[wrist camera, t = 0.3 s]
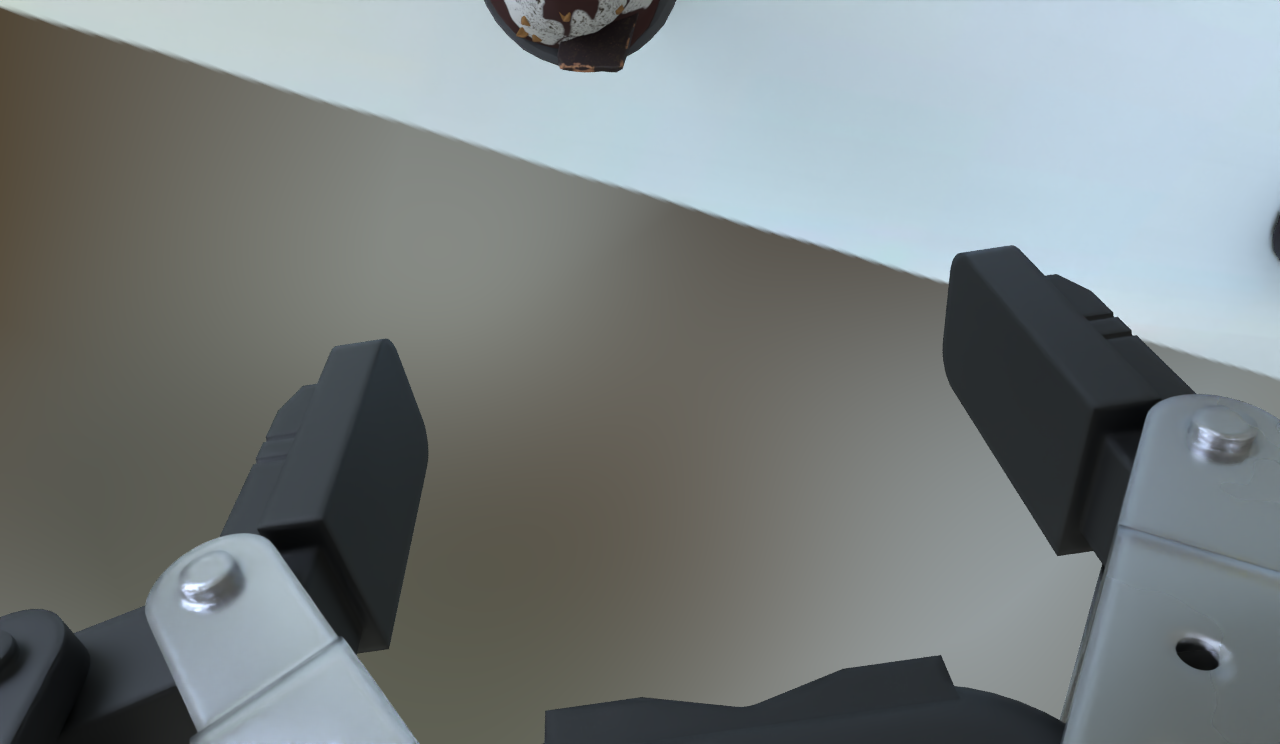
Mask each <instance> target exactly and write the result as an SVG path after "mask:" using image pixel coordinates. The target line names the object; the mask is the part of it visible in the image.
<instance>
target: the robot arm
mask: <svg viewBox="0 0 1280 744" xmlns="http://www.w3.org/2000/svg"><path fill="white" fill-rule="evenodd" d="M943 361H944V367H945V372H946V375H947V378H948V381H949V383H950V386H951V387H952V389H953V391H954V393H955V394H956V395H957V397H958V399H959V400H960V402H961V404H962V405H963V407H964V408H965V410H966V411H967V413H968V415H969V416H970V418H971V420H972V421H973V423H974V424H975V426H976V427H977V429H978V430H979V432H980V434H981V435H982V437H983V438H984V440H985V442H986V443H987V445H988V446H989V448H990V450H991V451H992V453H993V454H994V456H995V458H996V459H997V461H998V462H999V464H1000V466H1001V467H1002V469H1003V470H1004V472H1005V473H1006V475H1007V477H1008V478H1009V480H1010V481H1011V483H1012V485H1013V486H1014V488H1015V489H1016V491H1017V493H1018V494H1019V496H1020V497H1021V499H1022V500H1023V502H1024V504H1025V505H1026V507H1027V508H1028V510H1029V512H1030V513H1031V515H1032V516H1033V518H1034V519H1035V521H1036V523H1037V524H1038V526H1039V527H1040V529H1041V530H1042V532H1043V534H1044V535H1045V537H1046V539H1047V540H1048V542H1049V543H1050V545H1051V547H1052V548H1053V550H1054V551H1055V553H1056V554H1057V556H1061V555H1067V554H1075V553H1082V552H1089V551H1094V552H1095V553H1096V555H1097V557H1098V558H1099V560H1100V561H1101V562H1102V567H1101V570H1100V574H1099V577H1098V581H1097V584H1096V587H1095V591H1094V595H1093V599H1092V602H1091V606H1090V610H1089V614H1088V617H1087V621H1086V625H1085V629H1084V633H1083V636H1082V640H1081V643H1080V647H1079V651H1078V655H1077V658H1076V662H1075V666H1074V670H1073V673H1072V677H1071V681H1070V684H1069V688H1068V692H1067V695H1066V699H1065V702H1064V706H1063V710H1062V713H1061V717H1060V720H1058V719H1056V718H1054V717H1053V716H1051V715H1049V714H1047V713H1045V712H1043V711H1041V710H1038V709H1036V708H1034V707H1031V706H1029V705H1027V704H1024V703H1022V702H1019V701H1017V700H1013V699H1010V698H1007V697H1004V696H1001V695H998V694H995V693H990V692H985V691H981V690H976V689H972V688H966V687H957V686H954V685H953V682H952V680H951V678H950V675H949V673H948V671H947V668H946V666H945V663H944V661H943V659H942V656H941V655H939V656H931V657H924V658H917V659H910V660H904V661H896V662H889V663H882V664H875V665H868V666H861V667H853V668H846V669H842V670H839V671H837V672H834V673H832V674H829V675H827V676H825V677H822V678H819V679H817V680H815V681H812V682H810V683H807V684H805V685H802V686H800V687H798V688H795V689H792V690H790V691H787V692H785V693H783V694H780V695H778V696H775V697H773V698H770V699H768V700H765V701H763V702H761V703H758V704H755V705H752V706H747V707H732V706H723V705H713V704H703V703H693V702H683V701H673V700H664V699H654V698H643V697H640V698H634V699H626V700H619V701H612V702H605V703H598V704H590V705H583V706H576V707H569V708H562V709H555V710H548V711H545V743H543V744H1280V420H1279V419H1278V418H1277V417H1275V416H1273V415H1272V414H1270V413H1268V412H1266V411H1265V410H1263V409H1260V408H1258V407H1256V406H1253V405H1251V404H1248V403H1246V402H1243V401H1240V400H1235V399H1232V398H1228V397H1222V396H1217V395H1206V394H1196V393H1195V392H1194V391H1193V390H1192V389H1191V388H1190V387H1189V386H1188V385H1187V384H1186V383H1185V382H1184V381H1183V380H1182V379H1181V378H1180V377H1179V376H1177V374H1176V373H1174V372H1173V371H1172V370H1171V369H1170V368H1169V367H1168V366H1167V365H1166V364H1165V363H1164V362H1163V361H1162V360H1161V359H1160V358H1159V357H1158V356H1157V355H1156V354H1155V353H1154V352H1153V351H1152V350H1151V349H1150V348H1149V347H1148V346H1147V345H1146V344H1145V343H1144V342H1143V341H1142V340H1141V339H1140V338H1139V337H1138V336H1137V335H1135V336H1132V330H1131V329H1129V328H1128V327H1127V326H1126V325H1125V324H1124V323H1123V322H1122V321H1121V320H1120V319H1119V318H1118V317H1114V316H1113V312H1112V311H1111V310H1110V309H1109V308H1108V307H1107V306H1106V305H1105V304H1104V303H1103V302H1102V301H1101V300H1100V299H1099V298H1098V297H1097V296H1096V295H1095V294H1094V293H1093V292H1092V291H1090V290H1088V289H1086V288H1084V287H1082V286H1080V285H1078V284H1076V283H1074V282H1072V281H1070V280H1068V279H1065V278H1063V277H1061V276H1059V275H1057V274H1054V275H1047V276H1045V275H1044V274H1043V273H1042V272H1041V271H1040V270H1039V269H1038V268H1037V267H1036V266H1035V265H1034V264H1033V263H1032V262H1031V261H1030V260H1029V259H1028V258H1027V257H1026V256H1025V255H1024V254H1023V253H1022V252H1021V250H1020V249H1018V248H1017V247H1015V246H1012V245H1010V246H1004V247H997V248H990V249H984V250H977V251H971V252H964V253H959V254H957V255H956V256H955V257H954V259H953V261H952V265H951V270H950V279H949V288H948V299H947V308H946V318H945V328H944V338H943ZM266 440H267V441H266V442H264V443H263V444H262V446H261V449H260V451H259V453H258V455H257V457H256V462H257V463H256V464H254V465H253V466H252V468H251V470H250V473H249V474H248V477H247V479H246V481H245V483H244V485H243V487H242V490H241V492H240V494H239V496H238V498H237V500H236V502H235V505H234V507H233V509H232V511H231V513H230V515H229V518H228V520H227V522H226V524H225V526H224V528H223V531H222V533H221V535H220V537H219V538H216V539H213V540H211V541H208V542H206V543H203V544H201V545H199V546H198V547H196V548H194V549H192V550H191V551H189V552H187V553H186V554H185V555H183V556H181V557H180V558H179V559H178V560H176V561H175V562H174V563H173V564H172V565H170V566H169V567H168V568H167V569H166V570H165V571H164V573H163V574H162V575H161V576H160V577H159V578H158V580H157V581H156V583H155V584H154V586H153V587H152V589H151V591H150V593H149V595H148V598H147V601H146V605H145V606H142V607H140V608H138V609H135V610H133V611H130V612H127V613H125V614H122V615H120V616H117V617H115V618H112V619H109V620H107V621H104V622H102V623H99V624H96V625H94V626H91V627H89V628H86V629H84V630H81V631H79V632H76V633H73V632H72V631H71V630H70V629H69V627H68V626H67V625H66V624H65V623H64V622H63V621H62V619H61V618H60V617H59V616H58V615H57V614H55V613H53V612H51V611H48V610H44V609H30V610H22V611H18V612H14V613H11V614H8V615H5V616H2V617H0V744H419V743H418V741H417V740H416V739H415V737H414V736H413V734H412V733H411V731H410V730H409V729H408V727H407V726H406V724H405V723H404V722H403V720H402V719H401V717H400V716H399V715H398V713H397V712H396V710H395V709H394V707H393V706H392V705H391V703H390V702H389V700H388V699H387V698H386V696H385V695H384V694H383V692H382V691H381V689H380V688H379V687H378V685H377V684H376V682H375V681H374V679H373V678H372V676H371V675H370V674H369V672H368V671H367V669H366V668H365V667H364V665H363V664H362V662H361V661H360V660H359V658H358V657H357V653H364V652H371V651H378V650H385V649H389V646H390V642H391V636H392V632H393V626H394V622H395V617H396V613H397V608H398V603H399V598H400V594H401V589H402V584H403V579H404V574H405V570H406V565H407V559H408V555H409V550H410V545H411V541H412V536H413V531H414V526H415V522H416V517H417V512H418V507H419V502H420V497H421V492H422V488H423V483H424V478H425V474H426V469H427V462H428V441H427V434H426V429H425V425H424V422H423V419H422V417H421V414H420V411H419V408H418V406H417V403H416V401H415V398H414V395H413V392H412V390H411V387H410V384H409V382H408V379H407V376H406V374H405V371H404V368H403V366H402V363H401V360H400V358H399V355H398V353H397V350H396V348H395V346H394V345H393V343H392V342H391V341H390V340H389V339H380V340H373V341H366V342H360V343H353V344H346V345H340V346H335V347H334V348H333V349H332V351H331V352H330V355H329V357H328V359H327V362H326V364H325V367H324V369H323V371H322V374H321V376H320V378H319V381H318V383H317V384H313V385H306V386H302V387H301V388H300V390H298V391H297V392H296V394H294V395H293V396H292V398H290V399H289V400H288V401H287V402H286V403H285V404H284V405H283V406H282V408H280V410H278V412H277V414H276V416H275V418H274V420H273V423H272V425H271V427H270V430H269V431H268V433H267V436H266Z"/></svg>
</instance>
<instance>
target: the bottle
mask: <svg viewBox="0 0 1280 744" xmlns="http://www.w3.org/2000/svg"><path fill="white" fill-rule="evenodd" d="M1273 243H1274V251H1275V253H1276V255H1277V257H1278V258H1279V260H1280V217H1279V219H1278V222H1277V225H1276V228H1275V231H1274V234H1273Z"/></svg>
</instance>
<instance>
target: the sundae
mask: <svg viewBox="0 0 1280 744" xmlns="http://www.w3.org/2000/svg"><path fill="white" fill-rule="evenodd" d="M484 1H485V3H486V6H487V7H488V9H489V11H490V12H491V14H492V16H493V17H494V19H495V21H496V22H497V23H498V25H499V26H500V27H501V28H502V29H503V30H504V31H505V33H506V34H507V35H508V36H509V37H510V38H511V39H512V40H514V41H515V42H516V43H517V44H518V45H519V46H520V47H521V48H522V49H523V50H525V51H527V52H529V53H531V54H533V55H534V56H536V57H538V58H540V59H542V60H545V61H547V62H550V63H553V64H555V65H558V66H559V67H560V69H563V70H568V71H576V72H599V71H605V72H618V71H620V70H621V69H623V66H624V63H625V60H626V57H627V56H628V55H630V54H632V53H634V52H636V51H637V50H639V49H640V48H641V47H642V46H644V45H645V44H646V43H647V42H648V41H649V40H651V39H652V37H653V36H654V35H655V34H656V33H657V32H658V31H659V30H660V29H661V27H662V26H663V25H664V24H665V22H666V20H667V18H668V16H669V14H670V13H671V11H672V9H673V7H674V5H675V2H676V0H484Z"/></svg>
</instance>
